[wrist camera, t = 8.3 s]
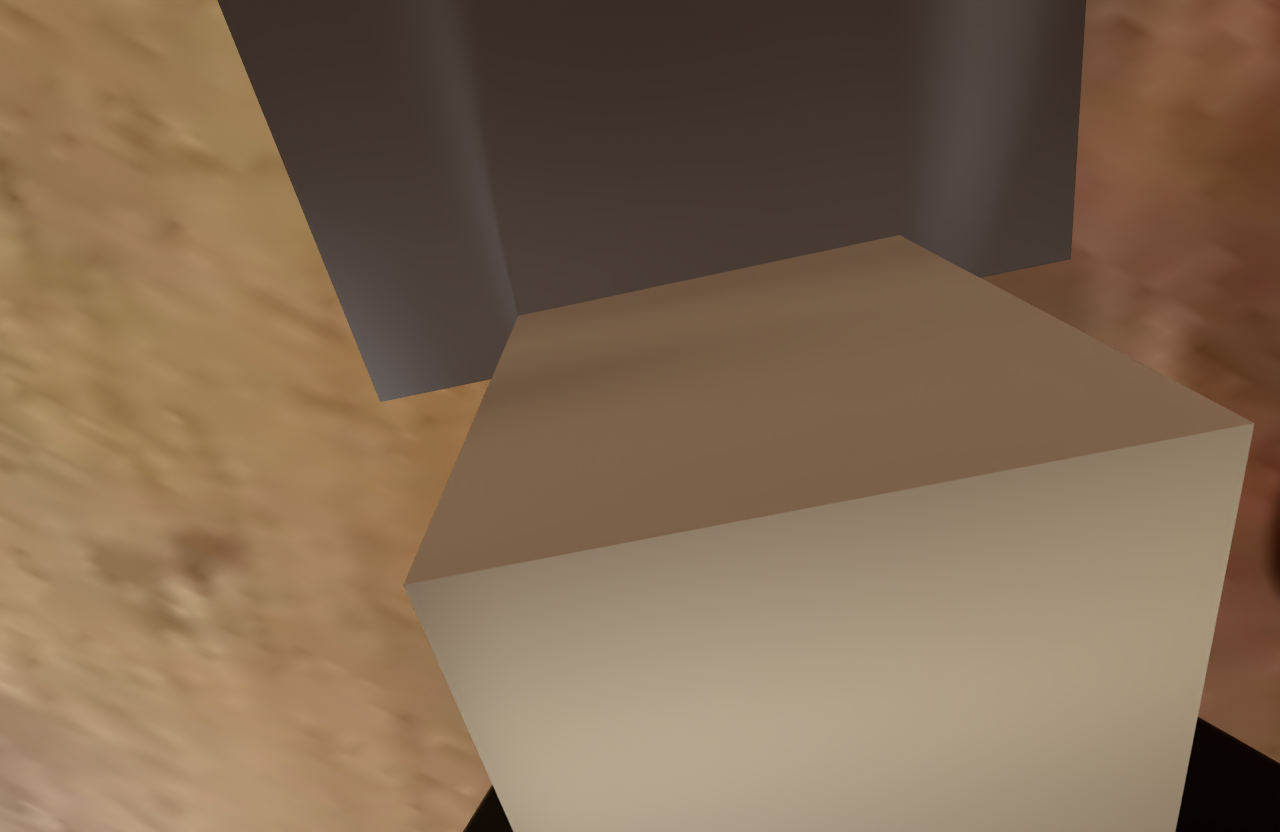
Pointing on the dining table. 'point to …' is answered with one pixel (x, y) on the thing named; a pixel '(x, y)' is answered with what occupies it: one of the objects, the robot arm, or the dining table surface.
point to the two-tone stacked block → (763, 407)
